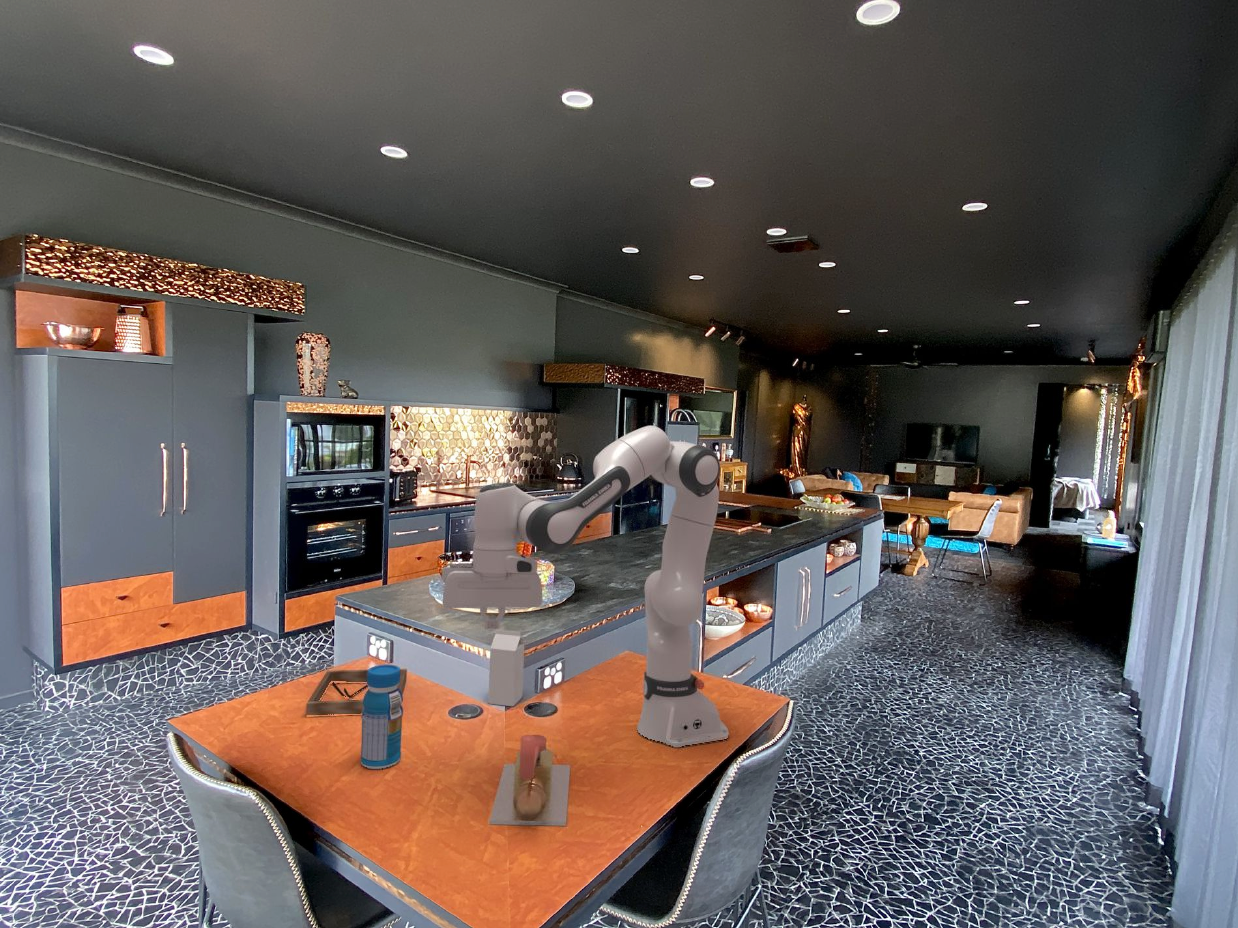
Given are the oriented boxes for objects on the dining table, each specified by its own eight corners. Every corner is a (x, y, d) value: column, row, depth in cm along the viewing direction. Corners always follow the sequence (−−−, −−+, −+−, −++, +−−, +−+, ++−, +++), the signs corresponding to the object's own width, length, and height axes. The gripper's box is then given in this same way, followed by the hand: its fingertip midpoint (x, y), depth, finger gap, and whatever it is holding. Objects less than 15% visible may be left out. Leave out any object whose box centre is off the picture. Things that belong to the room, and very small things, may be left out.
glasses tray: (406, 680, 194) (406, 668, 194) (397, 713, 171) (397, 700, 171) (326, 682, 190) (327, 670, 190) (306, 717, 166) (306, 703, 166)
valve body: (504, 767, 145) (506, 725, 145) (570, 768, 146) (571, 726, 145) (489, 824, 123) (490, 774, 123) (566, 825, 124) (568, 776, 123)
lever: (525, 741, 136) (526, 707, 136) (547, 742, 136) (548, 708, 136) (513, 779, 121) (514, 740, 121) (537, 780, 121) (539, 741, 121)
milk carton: (513, 707, 178) (516, 635, 178) (488, 703, 180) (490, 633, 179) (522, 697, 185) (525, 628, 185) (498, 694, 187) (500, 626, 186)
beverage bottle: (360, 773, 140) (364, 677, 139) (358, 755, 147) (361, 664, 147) (403, 767, 143) (406, 673, 143) (399, 750, 151) (402, 661, 150)
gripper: (441, 564, 134) (439, 633, 134) (544, 564, 138) (542, 631, 139) (442, 558, 140) (440, 625, 140) (541, 559, 144) (539, 623, 145)
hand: (491, 628), depth 139 cm, fingers closed
